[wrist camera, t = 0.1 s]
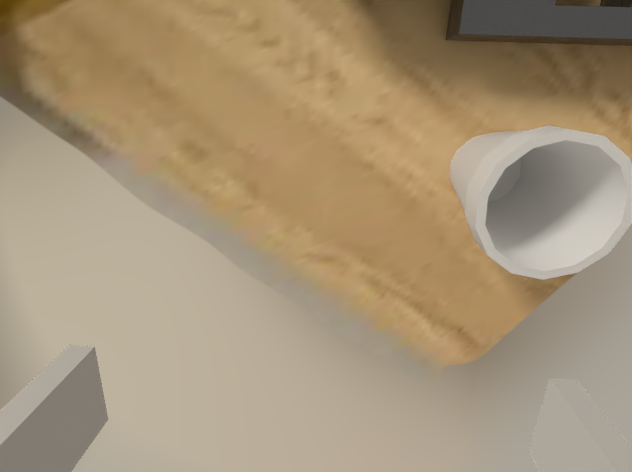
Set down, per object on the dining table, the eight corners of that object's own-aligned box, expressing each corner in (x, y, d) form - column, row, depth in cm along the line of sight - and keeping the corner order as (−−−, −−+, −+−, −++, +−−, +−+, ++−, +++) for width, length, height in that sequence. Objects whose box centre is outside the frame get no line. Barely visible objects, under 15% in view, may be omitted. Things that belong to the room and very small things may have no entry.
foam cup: (534, 103, 35) (638, 111, 22) (543, 204, 37) (639, 260, 25) (423, 132, 36) (464, 155, 24) (440, 227, 39) (485, 291, 27)
